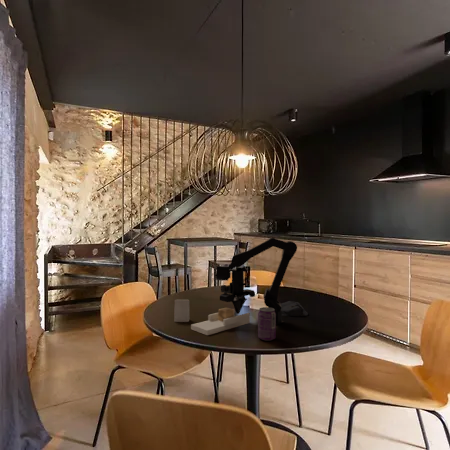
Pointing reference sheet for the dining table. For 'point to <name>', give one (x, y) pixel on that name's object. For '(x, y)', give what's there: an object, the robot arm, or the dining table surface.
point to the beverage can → (267, 324)
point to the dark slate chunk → (292, 309)
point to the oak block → (225, 313)
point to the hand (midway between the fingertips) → (237, 313)
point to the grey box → (181, 311)
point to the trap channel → (220, 323)
